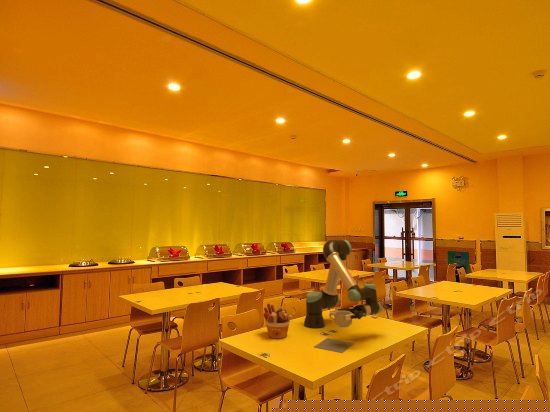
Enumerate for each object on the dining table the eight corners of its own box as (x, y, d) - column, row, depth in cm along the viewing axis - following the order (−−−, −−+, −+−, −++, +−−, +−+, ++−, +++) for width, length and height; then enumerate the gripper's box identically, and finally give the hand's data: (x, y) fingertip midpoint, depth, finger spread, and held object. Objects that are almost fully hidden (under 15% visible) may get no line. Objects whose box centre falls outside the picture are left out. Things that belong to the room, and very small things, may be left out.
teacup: (355, 325, 205) (354, 311, 206) (348, 329, 196) (348, 315, 197) (334, 321, 213) (333, 309, 214) (326, 326, 204) (326, 312, 205)
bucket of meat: (296, 336, 220) (296, 305, 222) (277, 342, 209) (277, 309, 211) (276, 330, 235) (276, 301, 237) (257, 335, 224) (257, 304, 226)
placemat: (313, 347, 200) (313, 346, 200) (327, 338, 217) (327, 337, 217) (342, 353, 190) (342, 352, 190) (354, 342, 207) (354, 342, 207)
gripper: (378, 320, 205) (353, 326, 193) (347, 312, 225) (323, 317, 213) (377, 308, 205) (353, 313, 193) (347, 301, 226) (323, 305, 214)
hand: (337, 315), depth 203 cm, fingers closed on teacup, 13 cm apart
